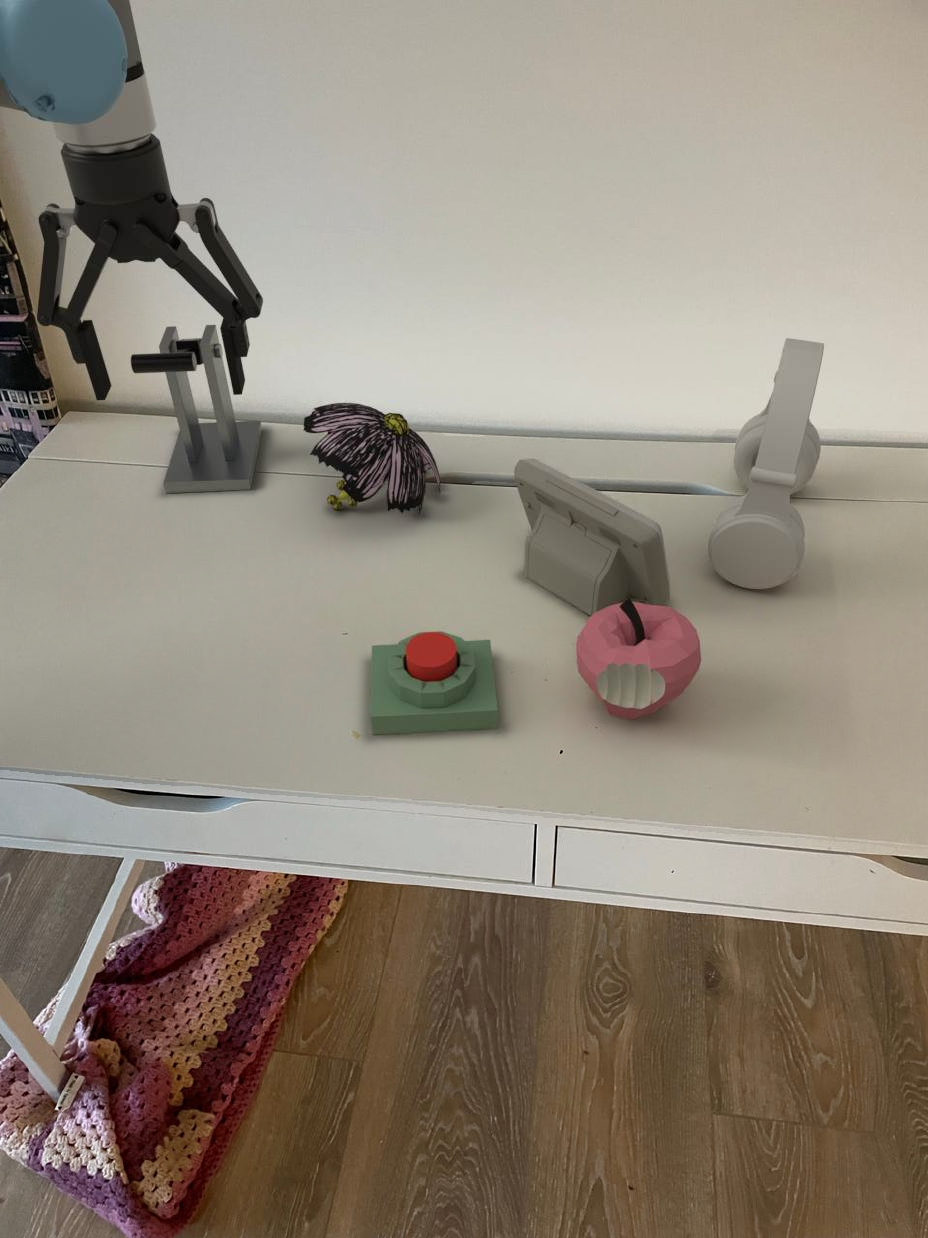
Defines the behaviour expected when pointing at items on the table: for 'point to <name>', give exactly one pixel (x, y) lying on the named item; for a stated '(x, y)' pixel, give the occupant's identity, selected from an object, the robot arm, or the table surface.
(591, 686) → the apple
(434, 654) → the button
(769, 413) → the headphones
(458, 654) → the button box
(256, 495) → the table surface
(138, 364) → the lever
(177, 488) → the bracket
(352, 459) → the decorative flower
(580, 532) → the digital clock
